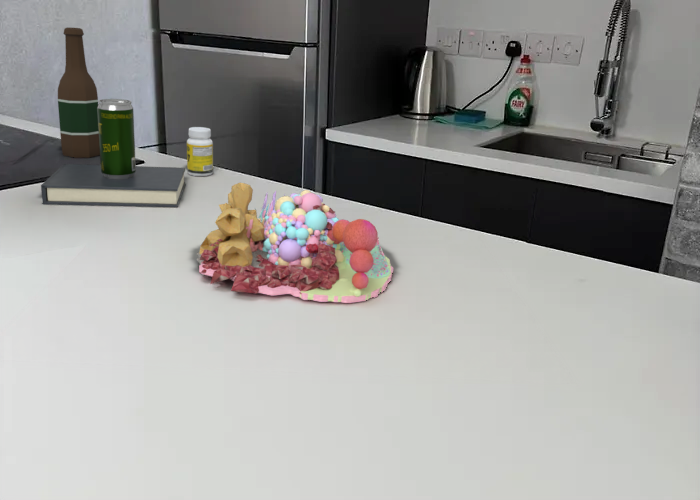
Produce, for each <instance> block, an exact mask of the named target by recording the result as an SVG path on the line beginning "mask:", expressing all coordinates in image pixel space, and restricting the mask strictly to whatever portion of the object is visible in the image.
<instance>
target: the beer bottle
mask: <svg viewBox="0 0 700 500" xmlns="http://www.w3.org/2000/svg"><path fill="white" fill-rule="evenodd" d="M63 35H64V36H65V38H64V39H65V42H64V43H65V65H64V66H65V68H64V73H63V74H62V76H61V78H60V80H59V84H58V87H57V107H58V120H59V133H60V144H61V145H60V146H61V153H62V155H63V156H64V157H68V156H69V157H68V158H73V157H74V158H75V159H79V158H80V159H83V158H84V159H85V158H86V159H88V158H94V157H100V146H99V129H98V112H97V107H98V104H99V102H98V101H99V97H98V89H97V86H96V83H95V81H94V79H93V77H92V76H91V74H90V73H89V71H88V67H87V64H86V63H87V62H86V54H85V48H84V47H85V46H84V39H83V38H84V37H83V36H84V35H85V33H84V30H83V28H80V27H64V29H63Z"/></svg>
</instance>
